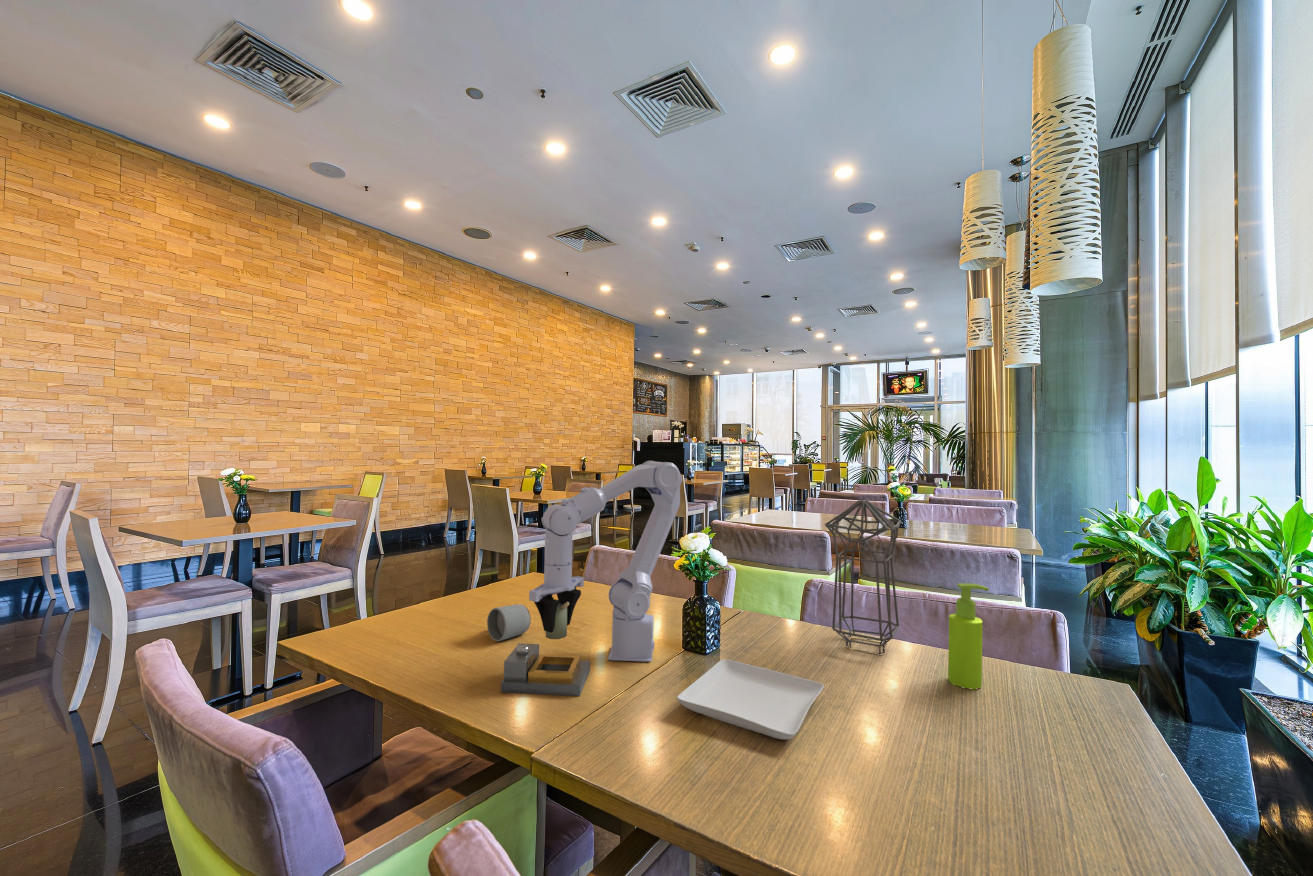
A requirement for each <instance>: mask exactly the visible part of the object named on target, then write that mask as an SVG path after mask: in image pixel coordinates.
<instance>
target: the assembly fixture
mask: <svg viewBox="0 0 1313 876" xmlns="http://www.w3.org/2000/svg"><path fill="white" fill-rule="evenodd" d="M503 662H504V663H503V679H502V680H501V681H500V693H501V694H523V695H543V696H544V695H545V696H546V695H548V696H549V695H550V696H566V697H568V696H569V697H570V696H572V697H573V696H574V697H580V696H581V695H582V692H583V689H584V686H585V684H586V681H587V679H588V677H589V673H591V660H581V655H568V654H567V655H565V654H564V655H563V654H540V644H539V643H520V642H519V643H517V645H516V646H515V647H514V648H513V650H512V651H511V652H510V654H509V655H508V656H507V657H506V659H504V661H503Z"/></svg>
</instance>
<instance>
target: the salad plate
mask: <svg viewBox="0 0 1313 876" xmlns="http://www.w3.org/2000/svg"><path fill="white" fill-rule="evenodd" d="M824 689H825V685H824V683H822V682H819V681H815V680H812V679H811V680H810V679H807V678H804V677H801V676H797V675H792V674H788V673H784V672H780V671H777V670H773V669H768V668H765V667H761V666H757V665H756V666H755V665H753V664H748V663H745V662H740V661H736V660H733V659H732V660H731V659H726V658H722V659H721V660H719V661H718V662H716V663H715V664H714V665H713V666H712V667H711V668H709V669H708V670H707V671H706V672H705V673H703V674H702V675H701V676H700V677H698V679H696V680H694V682H692V683H691V684H690V685H689V686H687V687H686V688H685V689H684V690H682V692H680V693H679V694H678V695H677V696H676V700H677V701H678V702H679V703H680V704H681V706H683V707H685V708H687V710H688V709H689V710H690V711H693V712H695V713H698V714H702V715H704V716H706V717H709V718H710V719H711V718H712V719H714V720H717V721H721V722H724V723H727V724H729V725H732V726H735V727H740V728H742V729H744V730H745V729H746V730H748V731H752V732H755V733H758V734H761V735H766V736H768V737H771V738H774V739H776V740H777V739H778V740H791V739H793V738H795V737H796V735H797V733H798V731H799V730H800V728H801V726H802V725H803V722H804V721H805V720H804V719H805V718H806V716H807V714H808V712H809V710H810V708H811V707H812V705H813V703H814V702H815V700H817V698H818V697H819V696H820V695H821V693H822V692H823V690H824Z"/></svg>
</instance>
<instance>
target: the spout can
mask: <svg viewBox="0 0 1313 876" xmlns="http://www.w3.org/2000/svg"><path fill="white" fill-rule="evenodd" d="M568 605H569V602H566V603H565V604H558V607H557V610H556V615H555V626H554V631H553V632H551V633H550V632H547V631H545V638H546V639H550V640H560V639H564V638H567V636H568V626H567V606H568Z"/></svg>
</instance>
